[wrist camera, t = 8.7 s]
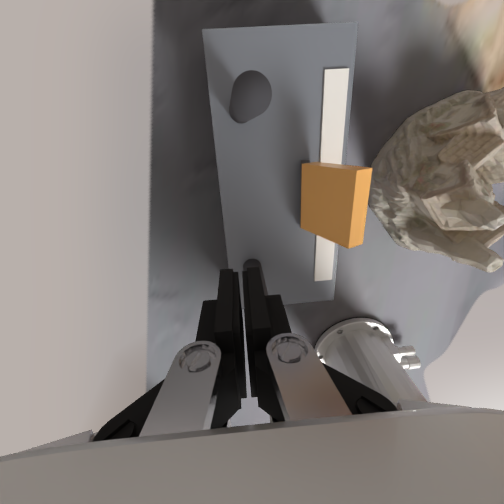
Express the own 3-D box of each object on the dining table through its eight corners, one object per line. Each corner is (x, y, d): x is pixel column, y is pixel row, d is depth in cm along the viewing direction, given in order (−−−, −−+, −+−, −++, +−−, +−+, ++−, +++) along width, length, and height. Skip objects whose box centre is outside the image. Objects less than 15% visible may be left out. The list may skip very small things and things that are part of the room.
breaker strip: (332, 42, 25) (359, 20, 20) (319, 276, 36) (334, 300, 31) (207, 49, 25) (201, 28, 19) (232, 284, 36) (233, 310, 31)
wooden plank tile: (309, 158, 24) (372, 164, 19) (307, 224, 27) (362, 246, 22) (295, 160, 24) (357, 167, 18) (294, 227, 26) (348, 250, 21)
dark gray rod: (252, 96, 22) (271, 69, 13) (253, 122, 23) (272, 115, 14) (228, 96, 22) (230, 70, 13) (230, 123, 22) (233, 117, 13)
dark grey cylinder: (260, 257, 28) (276, 318, 19) (261, 273, 29) (276, 339, 20) (242, 259, 28) (248, 321, 19) (243, 275, 29) (250, 342, 20)
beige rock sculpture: (396, 262, 36) (506, 332, 22) (344, 159, 30) (448, 166, 16) (502, 196, 34) (694, 227, 20) (468, 72, 29) (703, -3, 15)
